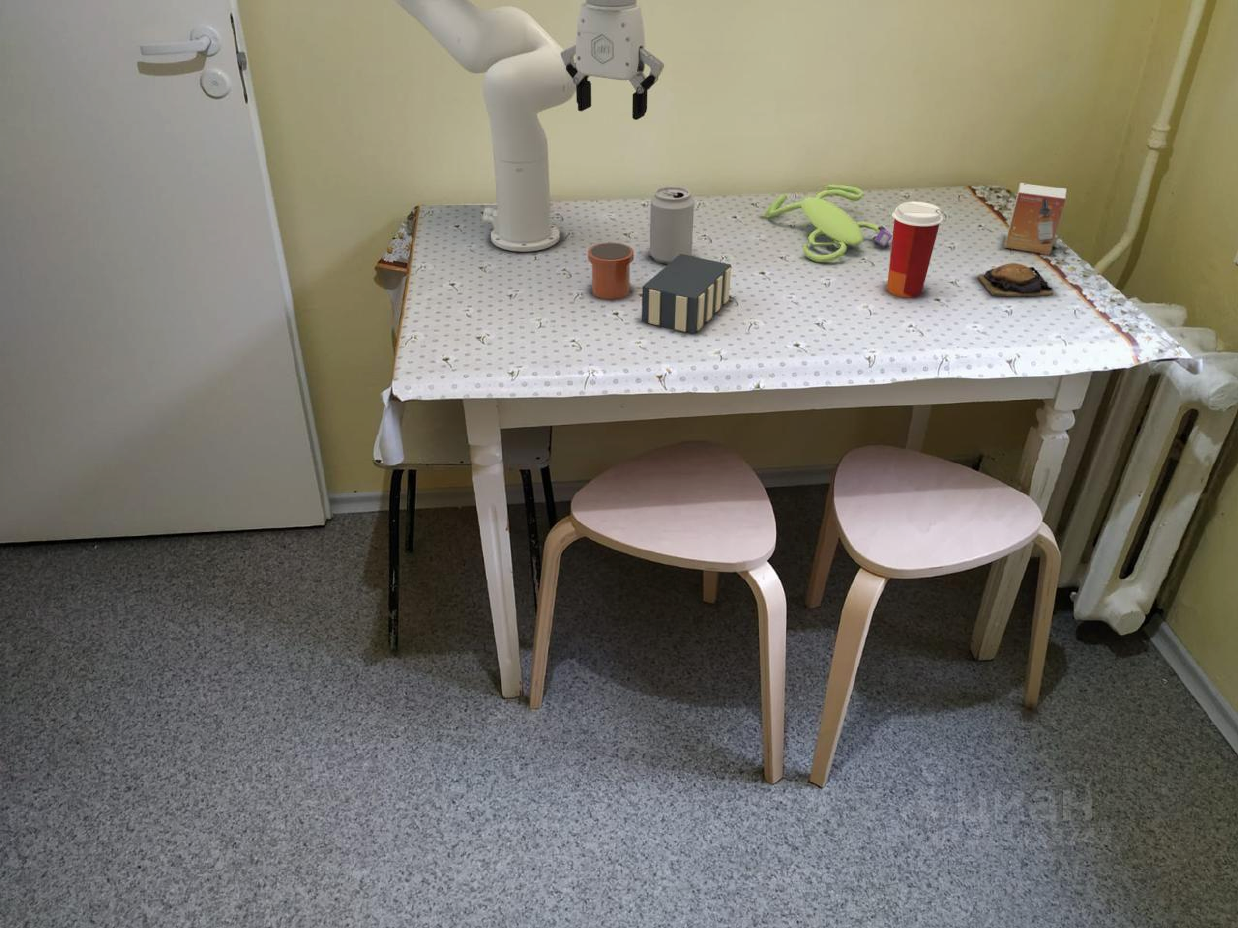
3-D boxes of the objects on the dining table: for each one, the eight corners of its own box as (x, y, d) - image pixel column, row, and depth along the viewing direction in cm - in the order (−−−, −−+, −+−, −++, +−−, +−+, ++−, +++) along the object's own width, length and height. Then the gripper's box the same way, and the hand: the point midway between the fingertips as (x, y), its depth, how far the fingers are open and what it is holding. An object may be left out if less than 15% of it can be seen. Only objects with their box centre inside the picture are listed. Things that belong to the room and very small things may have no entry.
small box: (1003, 248, 179) (1017, 192, 173) (1006, 237, 183) (1019, 181, 177) (1050, 255, 176) (1066, 198, 170) (1052, 244, 181) (1067, 187, 174)
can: (688, 267, 172) (691, 200, 165) (645, 264, 173) (647, 197, 166) (694, 250, 178) (697, 185, 171) (653, 247, 179) (654, 182, 172)
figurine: (846, 204, 197) (850, 176, 194) (908, 257, 176) (914, 227, 172) (758, 211, 193) (761, 183, 190) (811, 266, 172) (815, 236, 169)
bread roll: (991, 298, 162) (996, 278, 160) (974, 276, 169) (979, 256, 167) (1055, 297, 163) (1061, 276, 160) (1036, 275, 169) (1041, 255, 167)
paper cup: (930, 284, 166) (946, 203, 158) (926, 303, 161) (942, 220, 152) (882, 277, 169) (896, 197, 160) (877, 296, 163) (890, 214, 155)
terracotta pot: (580, 295, 163) (579, 255, 159) (601, 278, 168) (601, 239, 164) (620, 304, 160) (620, 263, 156) (640, 287, 165) (641, 247, 161)
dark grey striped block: (640, 322, 155) (641, 287, 151) (678, 287, 165) (680, 253, 162) (695, 335, 151) (696, 299, 148) (730, 299, 162) (733, 264, 158)
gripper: (547, -6, 147) (552, 112, 157) (652, 5, 140) (650, 127, 150) (573, -14, 152) (575, 100, 162) (675, -4, 146) (671, 115, 156)
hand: (611, 113), depth 156 cm, fingers open, 9 cm apart
